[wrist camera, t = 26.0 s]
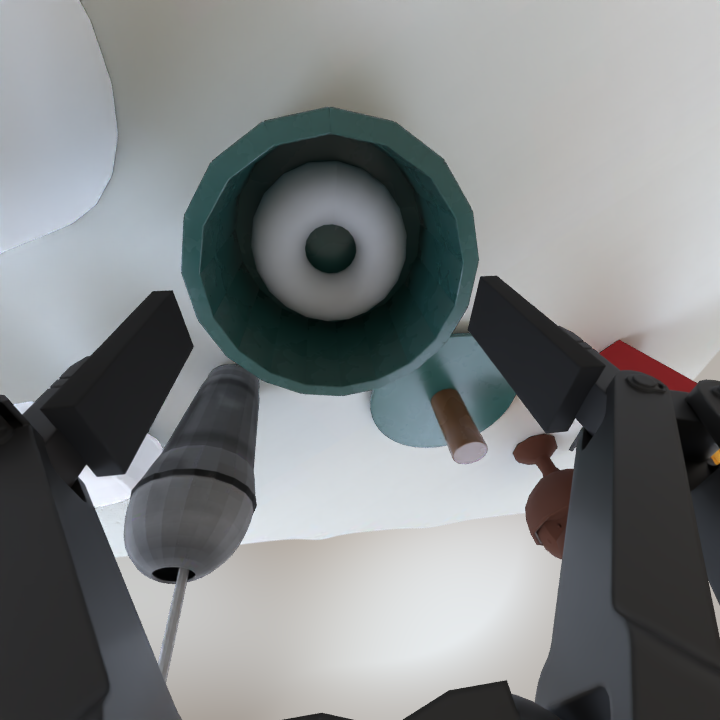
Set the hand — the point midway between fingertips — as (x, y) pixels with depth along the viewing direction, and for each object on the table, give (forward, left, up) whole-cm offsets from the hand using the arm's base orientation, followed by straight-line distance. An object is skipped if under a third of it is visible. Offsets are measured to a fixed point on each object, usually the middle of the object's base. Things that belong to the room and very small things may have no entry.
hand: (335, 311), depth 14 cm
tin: (0, 0, -10) cm, 10 cm away
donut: (0, 0, -10) cm, 10 cm away
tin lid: (+11, -15, -10) cm, 21 cm away
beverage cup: (-9, -12, -11) cm, 19 cm away
